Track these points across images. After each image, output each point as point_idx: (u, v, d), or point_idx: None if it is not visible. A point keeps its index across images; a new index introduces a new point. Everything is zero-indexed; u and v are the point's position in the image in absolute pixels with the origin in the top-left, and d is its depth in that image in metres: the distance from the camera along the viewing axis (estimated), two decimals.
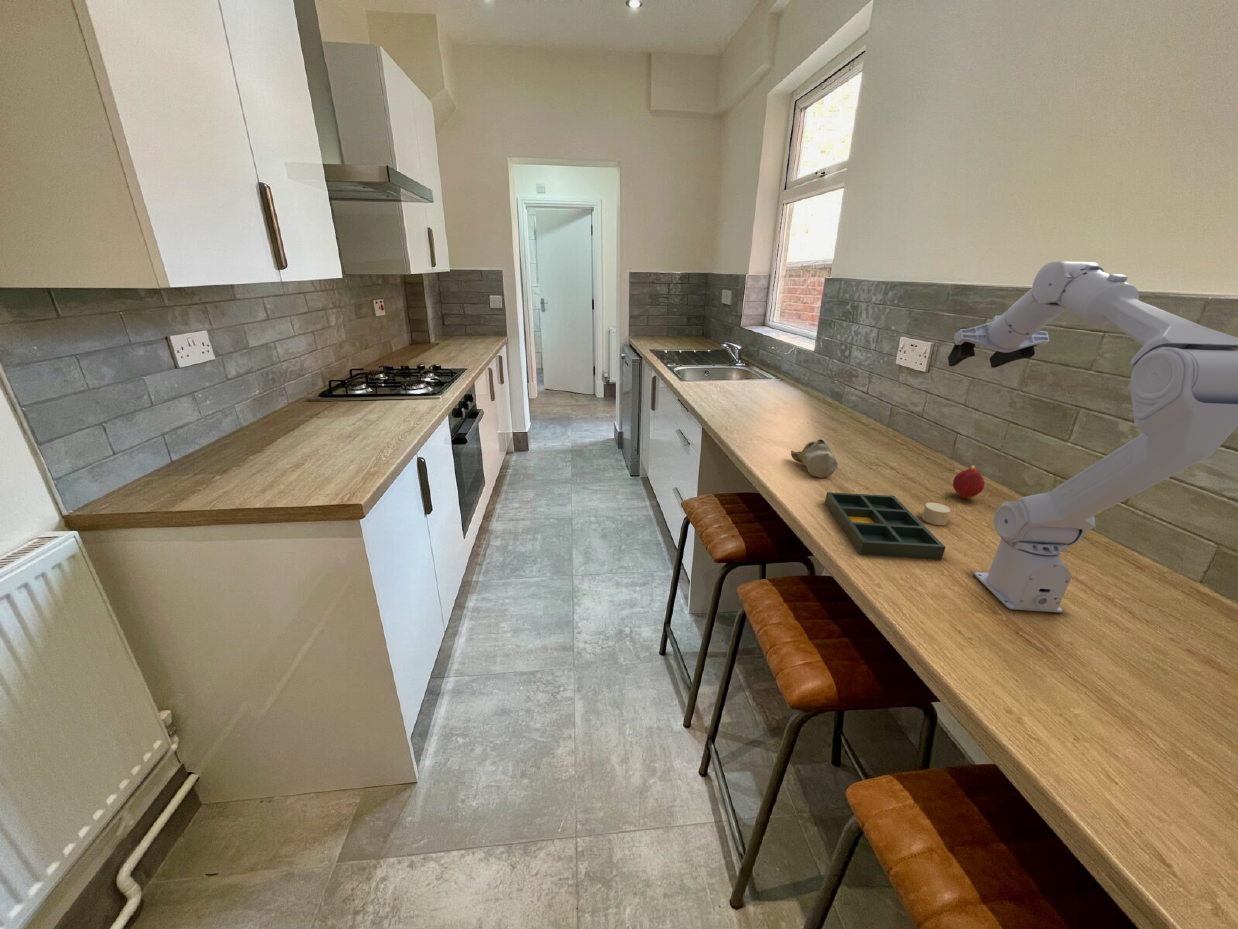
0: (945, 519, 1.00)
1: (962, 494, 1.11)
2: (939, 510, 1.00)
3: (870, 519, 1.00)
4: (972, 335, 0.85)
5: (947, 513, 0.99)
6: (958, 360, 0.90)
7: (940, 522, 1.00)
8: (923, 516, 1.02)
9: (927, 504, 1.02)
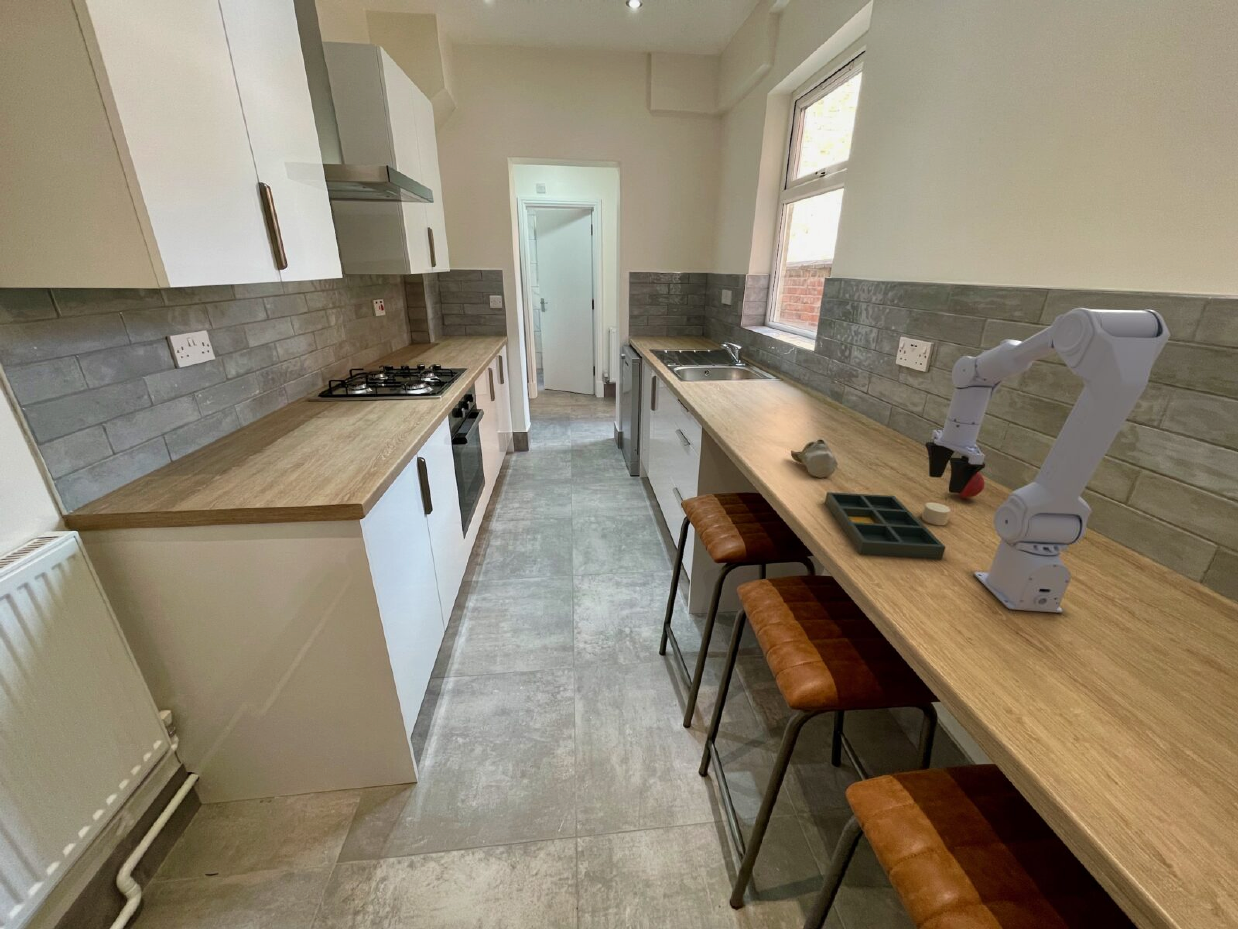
0: (945, 519, 1.00)
1: (962, 494, 1.11)
2: (939, 510, 1.00)
3: (870, 519, 1.00)
4: None
5: (947, 513, 0.99)
6: None
7: (940, 522, 1.00)
8: (923, 516, 1.02)
9: (927, 504, 1.02)
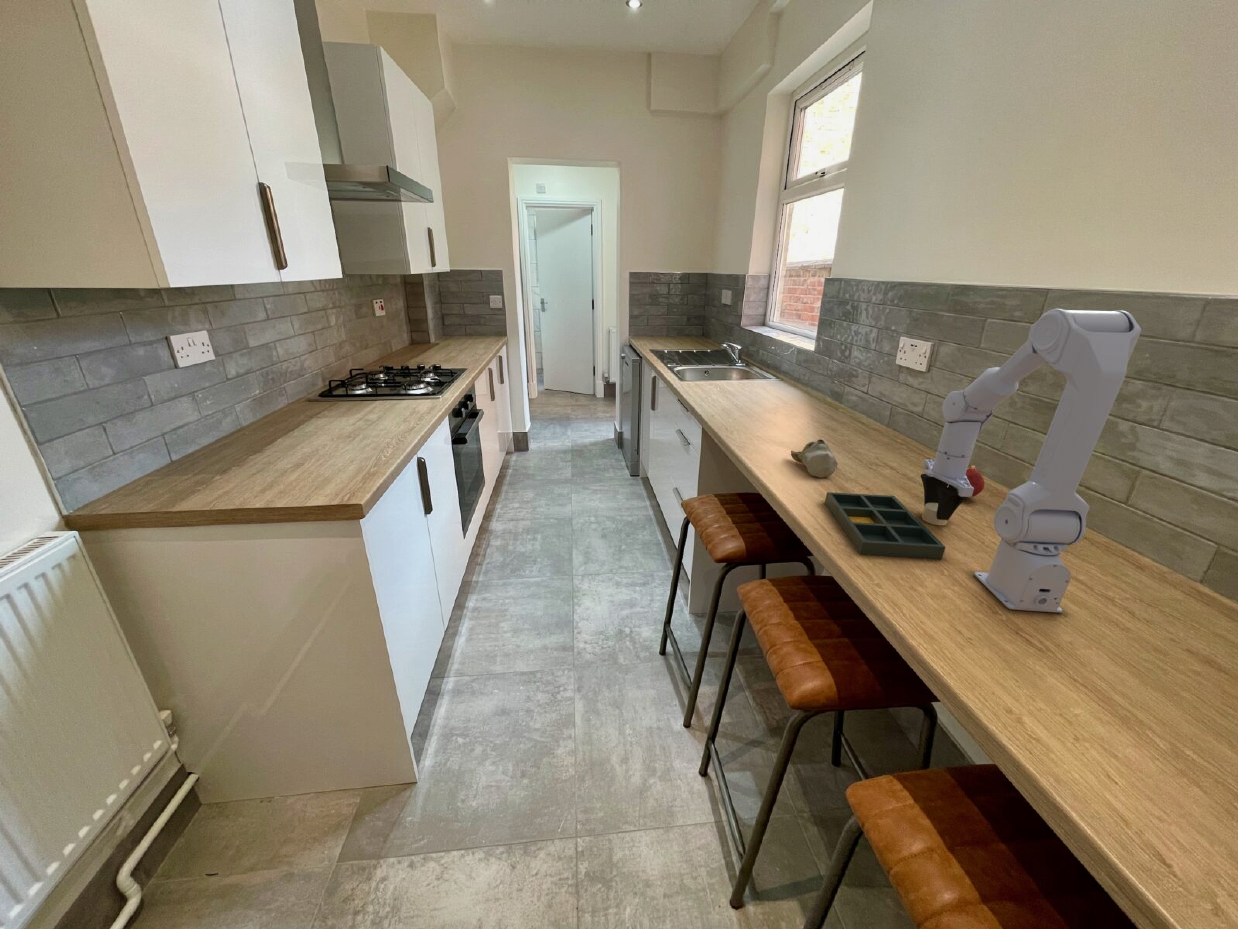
0: None
1: None
2: None
3: (870, 519, 1.00)
4: None
5: None
6: None
7: (940, 522, 1.00)
8: (923, 516, 1.02)
9: (927, 504, 1.02)
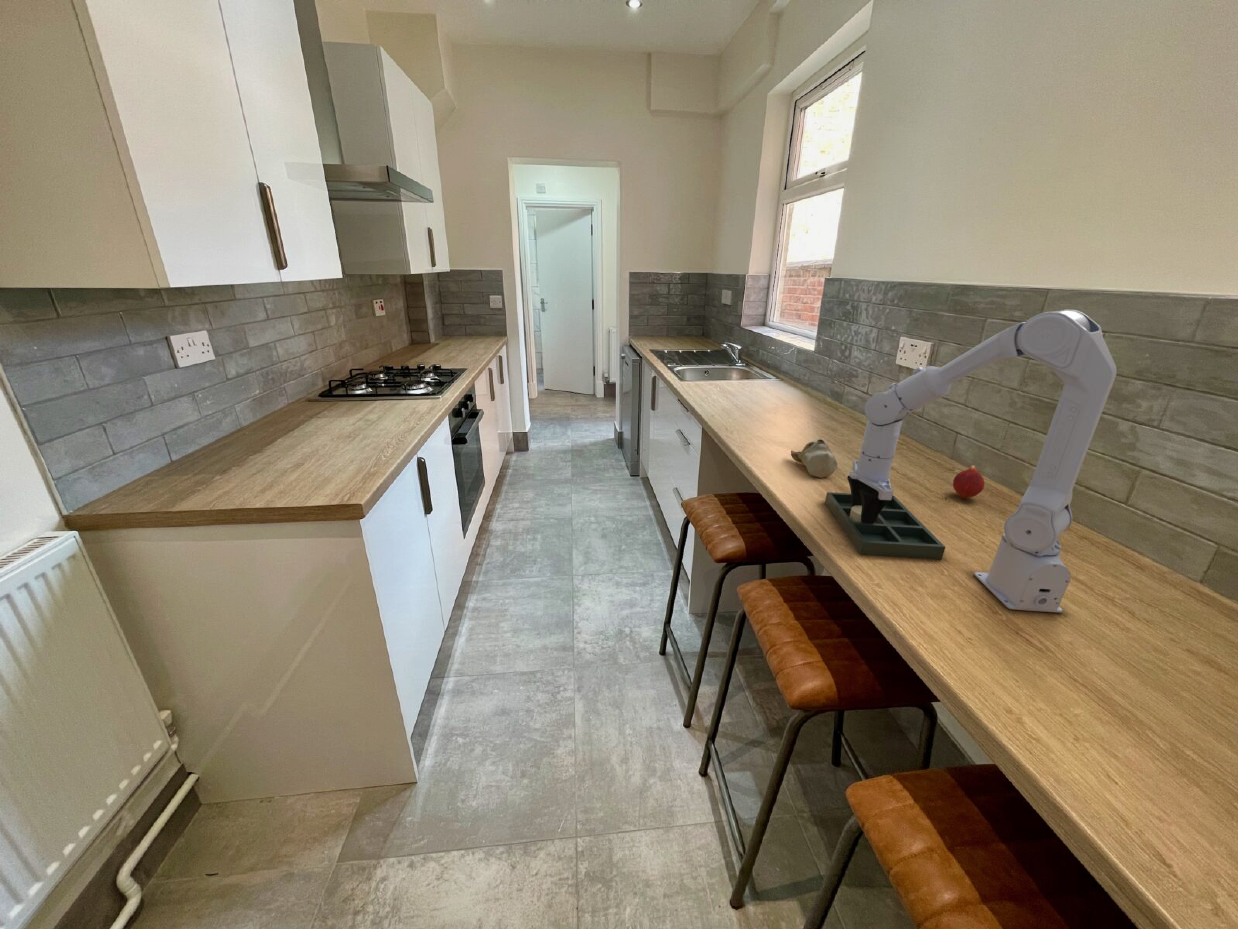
0: None
1: (962, 494, 1.11)
2: None
3: None
4: None
5: None
6: None
7: None
8: None
9: (853, 507, 0.99)
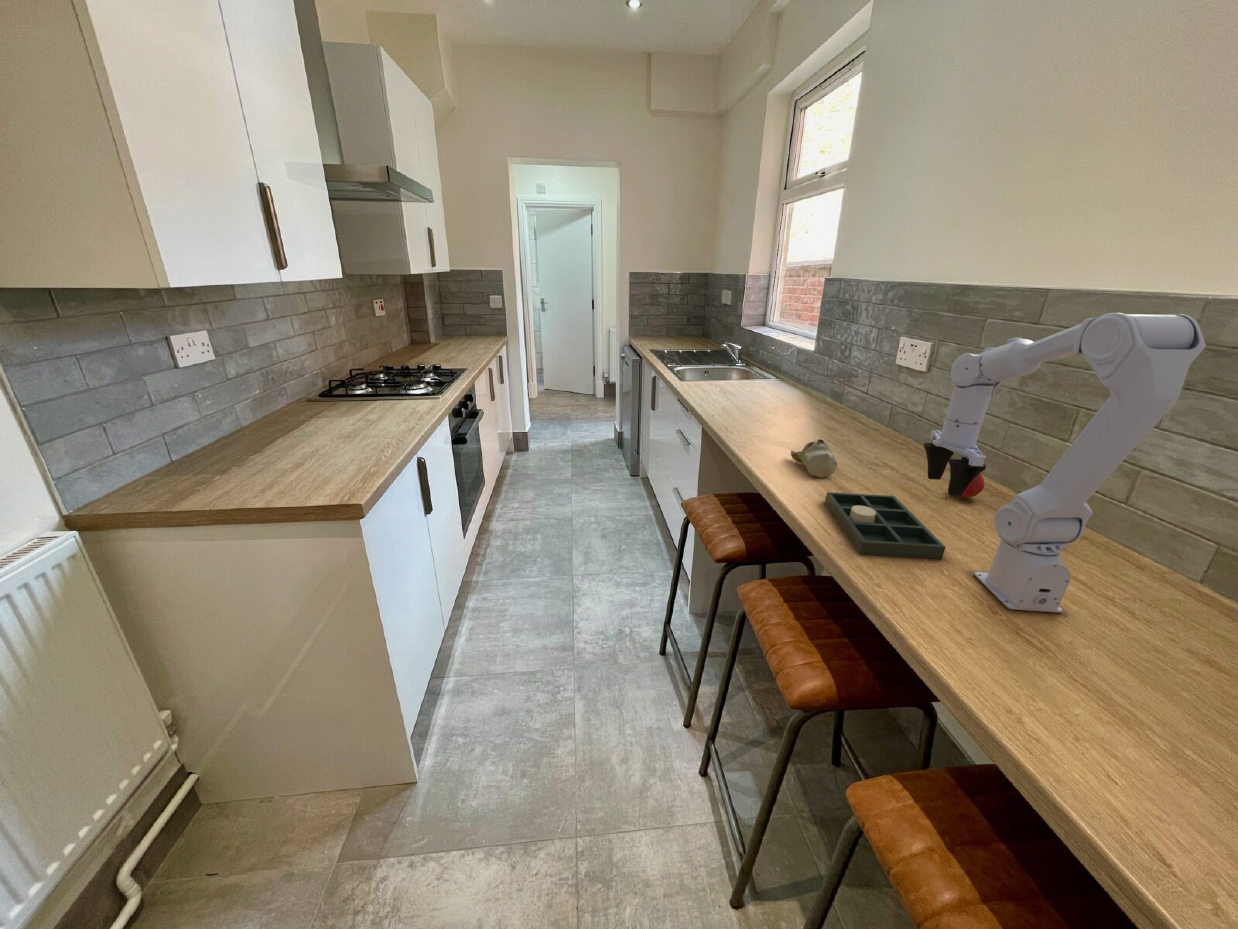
0: None
1: (962, 494, 1.11)
2: (864, 513, 0.96)
3: None
4: None
5: (872, 516, 0.96)
6: None
7: None
8: None
9: (853, 507, 0.99)
